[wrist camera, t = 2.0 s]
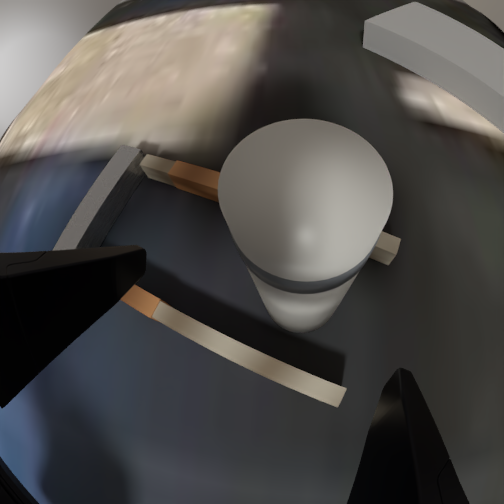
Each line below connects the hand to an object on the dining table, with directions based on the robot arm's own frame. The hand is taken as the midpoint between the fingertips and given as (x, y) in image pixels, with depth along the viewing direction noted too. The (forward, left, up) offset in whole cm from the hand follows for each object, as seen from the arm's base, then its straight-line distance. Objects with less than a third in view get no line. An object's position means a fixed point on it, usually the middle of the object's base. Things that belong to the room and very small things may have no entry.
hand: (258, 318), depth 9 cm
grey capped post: (+3, +2, -11) cm, 11 cm away
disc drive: (+39, +12, -11) cm, 43 cm away
